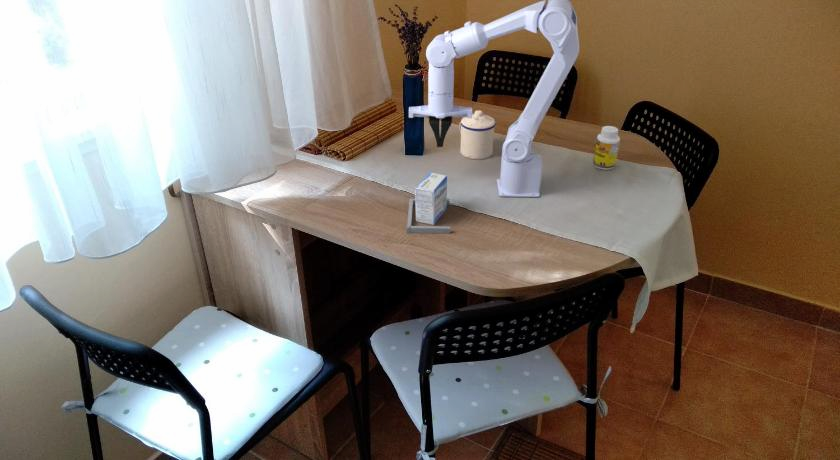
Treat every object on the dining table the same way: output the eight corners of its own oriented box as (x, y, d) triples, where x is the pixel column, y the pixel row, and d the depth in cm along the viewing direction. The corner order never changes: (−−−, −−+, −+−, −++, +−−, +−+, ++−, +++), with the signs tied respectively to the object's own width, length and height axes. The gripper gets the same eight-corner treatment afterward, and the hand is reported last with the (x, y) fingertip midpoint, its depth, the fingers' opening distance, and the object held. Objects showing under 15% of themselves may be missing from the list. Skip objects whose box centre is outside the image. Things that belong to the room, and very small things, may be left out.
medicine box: (433, 226, 138) (434, 191, 133) (415, 222, 140) (414, 187, 135) (447, 209, 144) (447, 175, 139) (429, 205, 146) (429, 171, 141)
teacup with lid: (500, 154, 168) (503, 113, 161) (473, 163, 163) (475, 121, 157) (473, 138, 176) (475, 98, 170) (446, 146, 172) (447, 105, 166)
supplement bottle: (588, 163, 163) (594, 126, 158) (606, 159, 165) (612, 122, 160) (601, 172, 159) (607, 134, 154) (619, 168, 161) (626, 131, 155)
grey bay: (449, 203, 146) (449, 199, 145) (450, 233, 136) (450, 228, 135) (409, 202, 146) (409, 198, 146) (407, 232, 136) (407, 227, 135)
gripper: (407, 96, 140) (408, 152, 147) (473, 97, 140) (471, 153, 147) (409, 85, 146) (409, 139, 153) (472, 85, 146) (470, 140, 153)
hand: (439, 145), depth 151 cm, fingers closed
